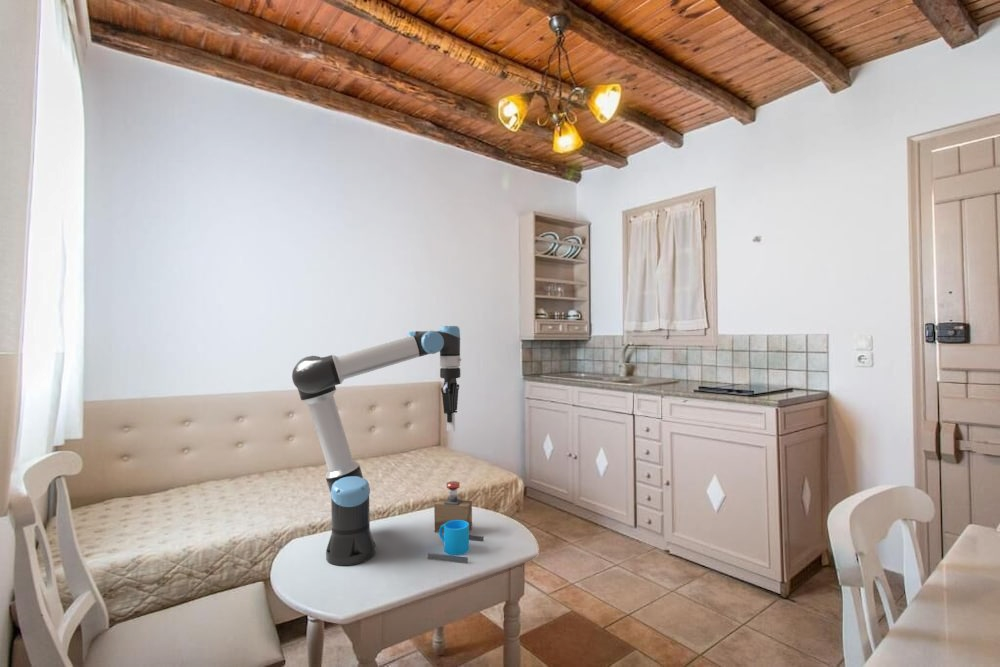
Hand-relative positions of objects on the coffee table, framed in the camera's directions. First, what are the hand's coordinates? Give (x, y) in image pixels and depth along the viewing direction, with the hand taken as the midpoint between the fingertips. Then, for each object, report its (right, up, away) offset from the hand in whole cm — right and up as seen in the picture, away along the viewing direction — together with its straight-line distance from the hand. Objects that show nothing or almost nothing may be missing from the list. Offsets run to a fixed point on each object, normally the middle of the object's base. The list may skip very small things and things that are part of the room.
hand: (450, 430), depth 180 cm
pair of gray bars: (+4, -34, -22) cm, 41 cm away
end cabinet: (+2, -34, -7) cm, 35 cm away
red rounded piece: (+2, -24, -7) cm, 24 cm away
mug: (+3, -35, -21) cm, 41 cm away
